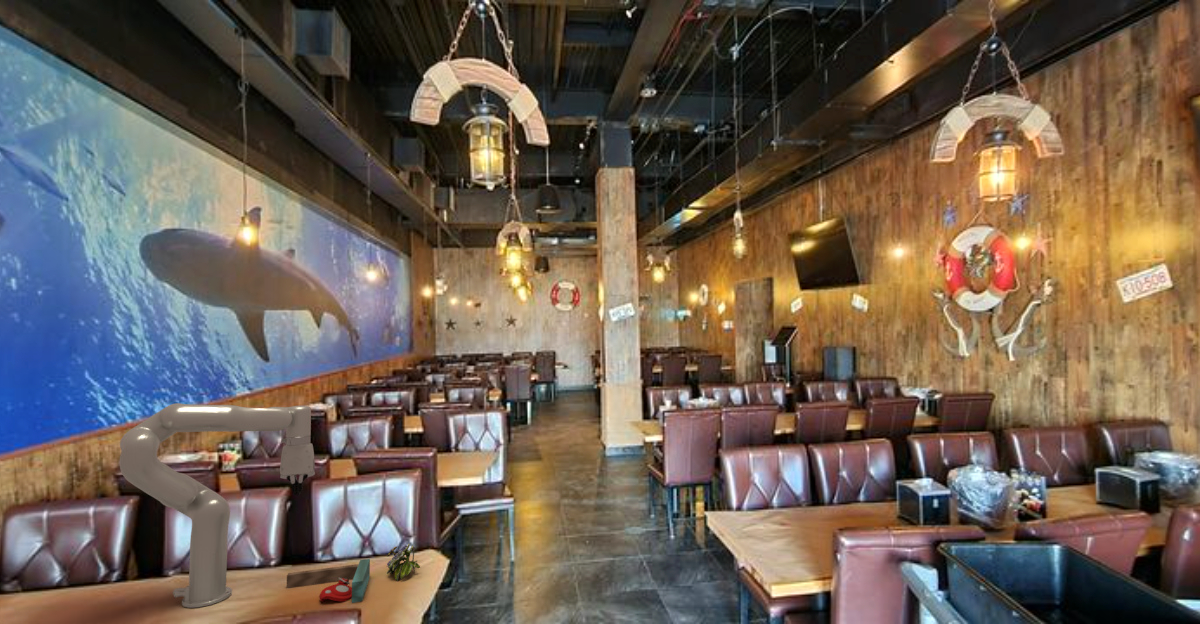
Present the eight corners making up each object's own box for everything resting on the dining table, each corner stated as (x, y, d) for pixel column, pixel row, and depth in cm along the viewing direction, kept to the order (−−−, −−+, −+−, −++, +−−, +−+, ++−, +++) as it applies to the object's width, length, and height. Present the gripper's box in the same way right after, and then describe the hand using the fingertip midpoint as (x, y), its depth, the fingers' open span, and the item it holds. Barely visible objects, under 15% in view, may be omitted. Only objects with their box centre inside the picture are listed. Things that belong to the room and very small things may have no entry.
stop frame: (269, 615, 155) (269, 593, 156) (288, 585, 175) (288, 566, 176) (362, 601, 163) (362, 581, 163) (370, 574, 183) (370, 556, 183)
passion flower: (392, 590, 183) (391, 554, 190) (425, 581, 185) (423, 545, 192) (382, 582, 174) (381, 545, 181) (416, 573, 176) (414, 536, 183)
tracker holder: (359, 594, 165) (325, 596, 159) (355, 608, 165) (321, 610, 159) (350, 573, 175) (318, 574, 169) (346, 586, 175) (313, 587, 169)
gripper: (271, 444, 183) (269, 499, 181) (319, 441, 187) (318, 494, 186) (277, 441, 190) (276, 493, 188) (323, 438, 194) (323, 489, 193)
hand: (297, 494), depth 187 cm, fingers closed
